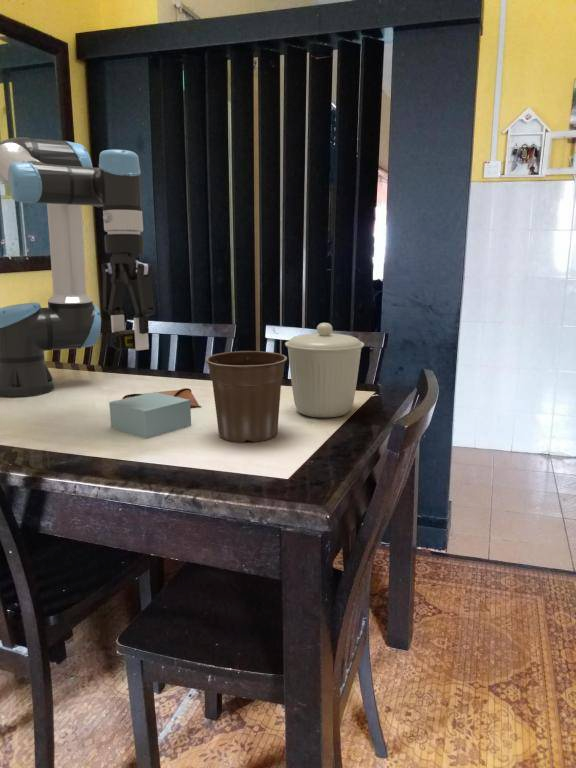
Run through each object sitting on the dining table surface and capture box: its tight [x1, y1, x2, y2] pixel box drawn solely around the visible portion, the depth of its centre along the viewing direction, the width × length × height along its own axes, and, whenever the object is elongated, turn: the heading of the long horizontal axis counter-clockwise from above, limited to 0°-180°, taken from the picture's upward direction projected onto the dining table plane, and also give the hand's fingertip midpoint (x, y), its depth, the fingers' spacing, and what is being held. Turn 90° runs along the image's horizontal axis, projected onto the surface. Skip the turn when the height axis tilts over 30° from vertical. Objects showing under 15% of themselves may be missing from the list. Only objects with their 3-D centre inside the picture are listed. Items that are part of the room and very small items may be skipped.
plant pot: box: [205, 350, 288, 443], centre depth 121 cm, size 16×16×16 cm
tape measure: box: [105, 329, 136, 351], centre depth 122 cm, size 7×7×4 cm
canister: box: [284, 322, 365, 419], centre depth 137 cm, size 18×18×21 cm
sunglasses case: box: [121, 387, 202, 409], centre depth 144 cm, size 18×7×7 cm
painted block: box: [109, 391, 192, 439], centre depth 128 cm, size 12×12×6 cm
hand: (130, 347), depth 123 cm, fingers closed on tape measure, 7 cm apart
